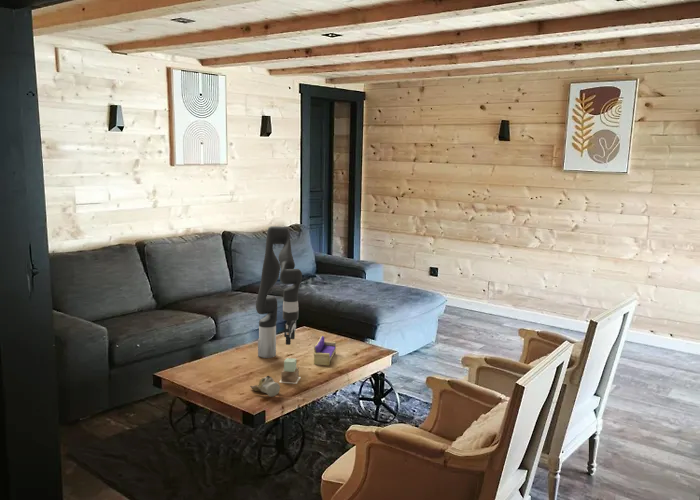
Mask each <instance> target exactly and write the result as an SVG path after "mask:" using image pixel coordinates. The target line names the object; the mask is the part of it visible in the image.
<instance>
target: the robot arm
mask: <svg viewBox="0 0 700 500" xmlns="http://www.w3.org/2000/svg"><path fill="white" fill-rule="evenodd" d="M274 245H283V246H282V248H281V250H280V252H279V253H278V258H277V256H276V254H275V252H274ZM262 263H263V264H262V269H261V278H260V282H259V283H260V284H259V290H258V292H257V297H256V301H255V311H256V313H257V314H258V315H265V316H264V317H262V318H261V319H259V322H258V339H257V357H260V358H263V359H271V358H274V357H276V355H277V320H278V319H277V318H278V300H277V298H276V297H275V296H273V295H270V296H268V294H269V292H270V290H271V289H272V288H273V287H274V286H275V284H276V283H277V281H278V280H280V282H281V283H282V284H285V285H289V284H290V285H291V284H292V285H291V286H290V287H285V288H284V289H283V297H282V298H283V301H282V302H283V303H282V319H283V320H284V321H286V323H285V324H284V333H283V334H284V335H283V336H284V338H285V345H287V346H289V345H291V344H292V343H291V341H292V340H295V339H296V338H295V335H296V330H297V320H299V290H300V286H301V282H302V278H303V273H302V271H301V269H300V268H296V267H295V266H296V264H295V263H296V262H295V260H294V257H293V253H292V245H291V238H290V230H289V229H288V227H286V226H279V225H277V226H276V225H270V226H269V227H268V228H267V231H266V238H265V252H264V258H263V262H262Z"/></svg>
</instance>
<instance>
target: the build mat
mask: <svg viewBox="0 0 700 500" xmlns="http://www.w3.org/2000/svg"><path fill="white" fill-rule="evenodd" d="M300 379H301V376H299V378H298V379H297V381H296V383H292V382H281V379H280V380H279V381H278V383H284V384H295V385H296V384H297V385H298V383H299V381H300Z"/></svg>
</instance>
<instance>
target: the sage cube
mask: <svg viewBox="0 0 700 500" xmlns="http://www.w3.org/2000/svg"><path fill="white" fill-rule="evenodd" d="M296 368H297V358H291V357H287V358H285V359H284V361H283V369H284V371H287V372H294V371H295V370H296Z"/></svg>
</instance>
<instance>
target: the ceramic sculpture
mask: <svg viewBox="0 0 700 500" xmlns="http://www.w3.org/2000/svg"><path fill="white" fill-rule="evenodd" d="M249 387H250V389H251V390H253V391H255V392H261V393H264V394H266V395H268V397H276V396H277V395H279V393H280V389H281V386H280V384H279V382H275V381H274V378H273V377H271V376H269V375H267V376H264V377H261V378H260V380H259V382H258V384H256V385H250V386H249Z"/></svg>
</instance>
